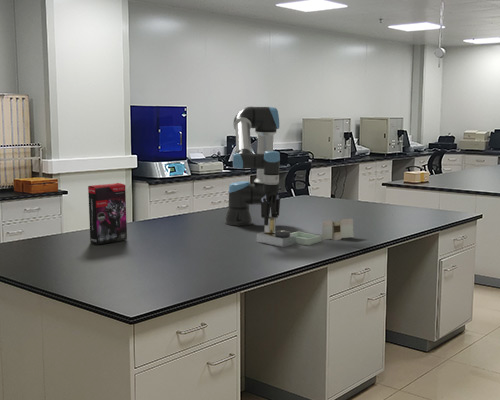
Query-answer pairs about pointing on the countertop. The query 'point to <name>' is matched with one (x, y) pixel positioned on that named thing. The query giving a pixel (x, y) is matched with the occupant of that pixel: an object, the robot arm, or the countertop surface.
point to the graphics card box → (107, 213)
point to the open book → (337, 229)
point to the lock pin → (271, 226)
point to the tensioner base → (277, 238)
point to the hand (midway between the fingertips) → (269, 231)
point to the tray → (306, 238)
